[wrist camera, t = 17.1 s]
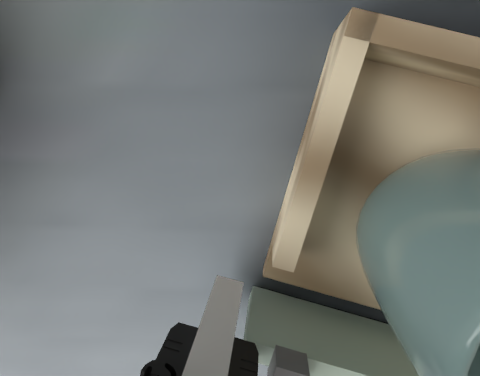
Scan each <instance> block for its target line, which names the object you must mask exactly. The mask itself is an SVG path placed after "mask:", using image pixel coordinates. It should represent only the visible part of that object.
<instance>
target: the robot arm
mask: <svg viewBox="0 0 480 376" xmlns="http://www.w3.org/2000/svg"><path fill="white" fill-rule="evenodd" d="M243 284H244V282H241V281H237V280H233V279H230V278H226V277H222V276H218V275H217V277H216V280H215V283H214V285H213V288H212V291H211V294H210V297H209V300H208V302H207V305H206V308H205V311H204V314H203V317H202V320H201V322H200V325H199V328H196V327H193V326H189V325H186V324H182V323H177V324H176V325H175V326H174V327H173V328H171V329H170V331H169V333H168V335H167V337H166V340H165V342H164V344H163V346H162V348H161V350H160V352H159V354H158V356H157V358H156V360H152V361H151V362H149V363H147V364H146V365H145V366H144V367H143V369H142V370H141V374H140V376H257V375H258V374H257V373H258V357H259V353H258V350H257V348H256V345H255V343H253V342H249V341H246V340H242V339H239V338H235V337H234V336H235V330H236V325H237V319H238V313H239V307H240V301H241V296H242V290H243Z"/></svg>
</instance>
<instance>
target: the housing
mask: <svg viewBox="0 0 480 376" xmlns="http://www.w3.org/2000/svg"><path fill="white" fill-rule="evenodd" d="M470 148H480V38H479V37H475V36H471V35H467V34H463V33H459V32H454V31H450V30H446V29H442V28H438V27H434V26H429V25H425V24H421V23H417V22H413V21H408V20H404V19H400V18H396V17H392V16H388V15H383V14H379V13H375V12H371V11H367V10H363V9H358V8H354V7H352V9H351V10H350V11H349V13H348V14H347V16H346V17H345V18H344V20H343V21H342V23H341V24H340V25H339V27H338V28H337V29H336V31H335V32H334V34H333V37H332V40H331V44H330V47H329V50H328V54H327V57H326V60H325V64H324V67H323V70H322V74H321V77H320V80H319V84H318V87H317V90H316V94H315V97H314V100H313V104H312V107H311V110H310V114H309V117H308V120H307V124H306V127H305V130H304V134H303V137H302V140H301V144H300V147H299V150H298V154H297V157H296V160H295V164H294V167H293V170H292V174H291V177H290V180H289V184H288V187H287V190H286V193H285V197H284V200H283V203H282V207H281V210H280V213H279V217H278V220H277V223H276V227H275V230H274V233H273V237H272V240H271V243H270V247H269V250H268V253H267V257H266V260H265V263H264V267H263V277H266V278H270V279H273V280H277V281H280V282H284V283H287V284H291V285H294V286H298V287H302V288H305V289H309V290H312V291H316V292H319V293H323V294H326V295H330V296H333V297H337V298H340V299H344V300H347V301H351V302H355V303H358V304H362V305H365V306H369V307H372V308H376V309H379V310H381V309H380V307H379V305H378V302H377V300H376V298H375V296H374V294H373V292H372V290H371V288H370V286H369V284H368V282H367V279H366V277H365V274H364V272H363V269H362V266H361V262H360V258H359V254H358V250H357V245H356V224H357V220H358V216H359V213H360V209H361V207H362V206H363V204H364V202H365V200H366V198H367V197H368V195H369V194H370V193H371V191H372V190H373V189H374V188H375V186H376V185H377V184H378V183H380V182H381V181H382V180H383V179H384V178H385V177H386V176H387V175H389V174H390V173H392V172H393V171H395V170H396V169H398V168H399V167H401V166H402V165H405V164H407V163H409V162H411V161H413V160H415V159H418V158H420V157H422V156H426V155H429V154H433V153H437V152H441V151H446V150H455V149H470Z"/></svg>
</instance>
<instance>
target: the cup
mask: <svg viewBox="0 0 480 376" xmlns="http://www.w3.org/2000/svg"><path fill="white" fill-rule="evenodd" d="M356 245H357V250H358V254H359V258H360V262H361V266H362V269H363V272H364V274H365V277H366V279H367V282H368V284H369V286H370V288H371V290H372V292H373V294H374V296H375V298H376V300H377V302H378V305H379V307H380V309H381V311H382V313H383V315H384V316H385V318H386V320H387V322H388V324H389V326H390V328H391V330H392V332H393V333H394V335H395V337H396V339H397V341H398V342H399V344H400V346H401V348H402V350H403V351H404V353H405V355H406V357H407V358H408V360H409V362H410V364H411V365H412V367H413V369H414V371H415V372H416V374H417V376H480V148H470V149H455V150H446V151H441V152H437V153H433V154H429V155H426V156H422V157H420V158H418V159H415V160H413V161H411V162H409V163H407V164H405V165H402V166H401V167H399V168H398V169H396V170H395V171H393V172H392V173H390V174H389V175H387V176H386V177H385V178H384V179H383V180H382V181H381V182H380V183H378V184H377V185H376V186H375V188H374V189H373V190H372V191H371V193H370V194H369V195H368V197H367V198H366V200H365V202H364V204H363V206H362V207H361V209H360V213H359V216H358V220H357V224H356Z"/></svg>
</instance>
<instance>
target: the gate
mask: <svg viewBox="0 0 480 376" xmlns="http://www.w3.org/2000/svg"><path fill="white" fill-rule="evenodd" d="M244 340H246V341H249V342H253V343H255V345H256V348H257V350H258V353H259V357H258V363H260V364H263V365H266V366H269V367H268V376H417V374H416V372H415V371H414V369H413V367H412V365H411V364H410V362H409V360H408V358H407V357H406V355H405V353H404V351H403V350H402V348H401V346H400V344H399V342H398V341H397V339H396V337H395V335H394V333H393V332H392V330H391V328H390V326H389V324H386V323H382V322H379V321H375V320H372V319H368V318H365V317H361V316H358V315H354V314H351V313H347V312H344V311H340V310H337V309H333V308H330V307H326V306H323V305H319V304H315V303H312V302H308V301H305V300H301V299H298V298H294V297H291V296H287V295H284V294H280V293H277V292H273V291H270V290H266V289H263V288H259V287H256V286H253V287H252V290H251V294H250V297H249V301H248V309H247V317H246V325H245V332H244Z"/></svg>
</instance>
